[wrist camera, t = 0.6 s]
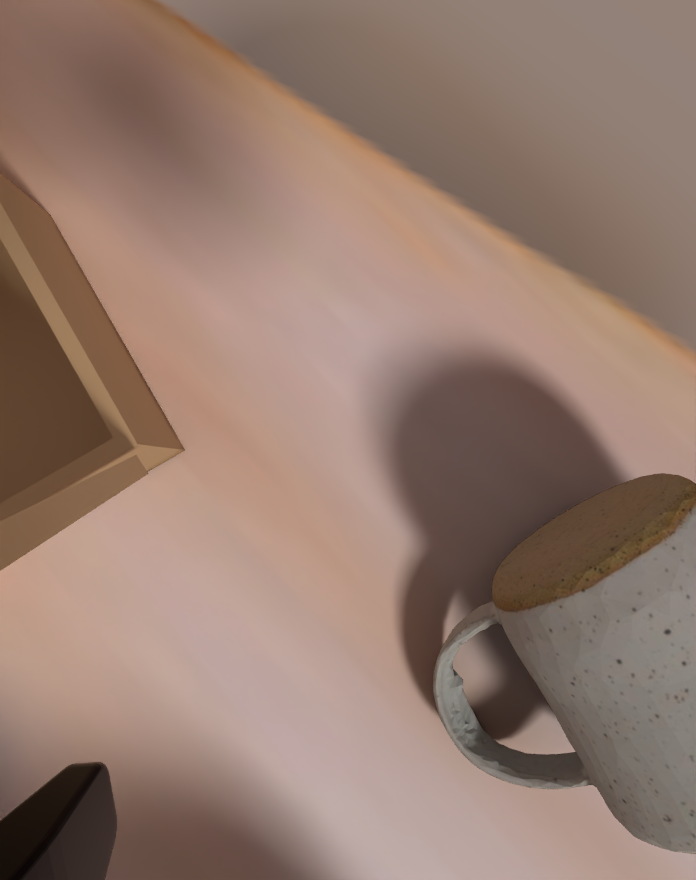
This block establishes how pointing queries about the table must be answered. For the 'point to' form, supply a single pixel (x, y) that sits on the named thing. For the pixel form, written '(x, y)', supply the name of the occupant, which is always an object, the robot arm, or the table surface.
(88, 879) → the robot arm
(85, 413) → the carton
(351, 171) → the table surface
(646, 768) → the ceramic mug
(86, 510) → the lid flap
